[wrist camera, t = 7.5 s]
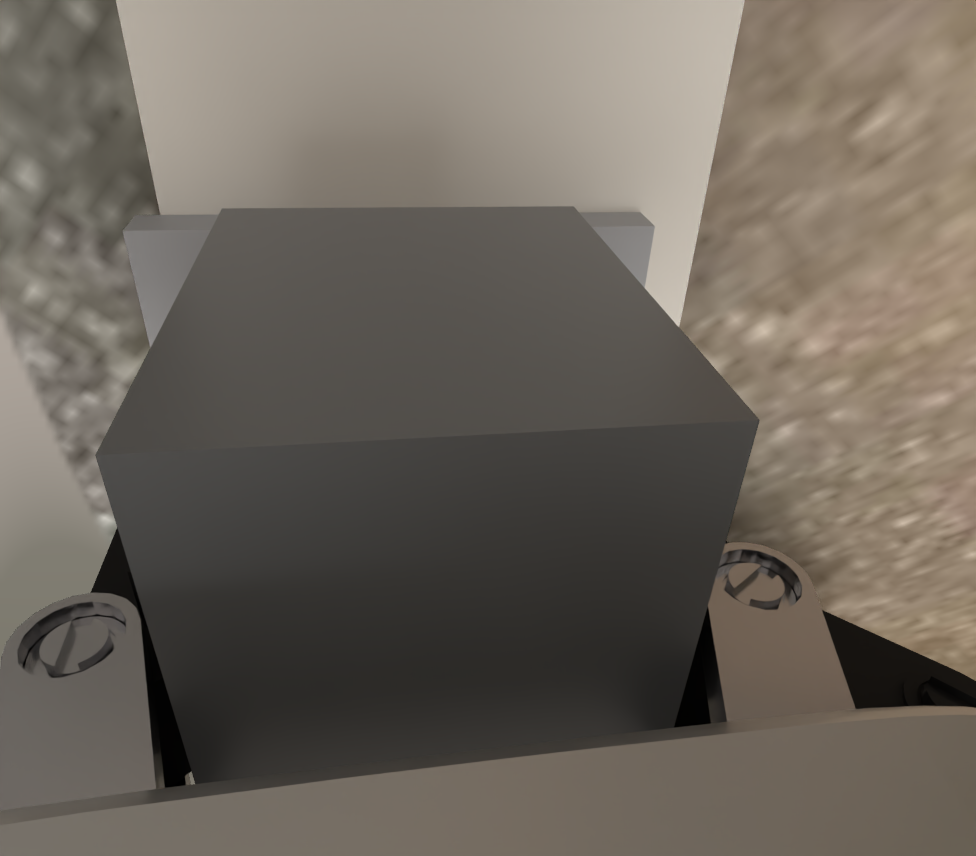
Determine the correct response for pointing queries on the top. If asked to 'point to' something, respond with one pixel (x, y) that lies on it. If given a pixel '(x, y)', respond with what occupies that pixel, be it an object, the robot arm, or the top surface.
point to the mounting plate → (429, 117)
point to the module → (419, 488)
